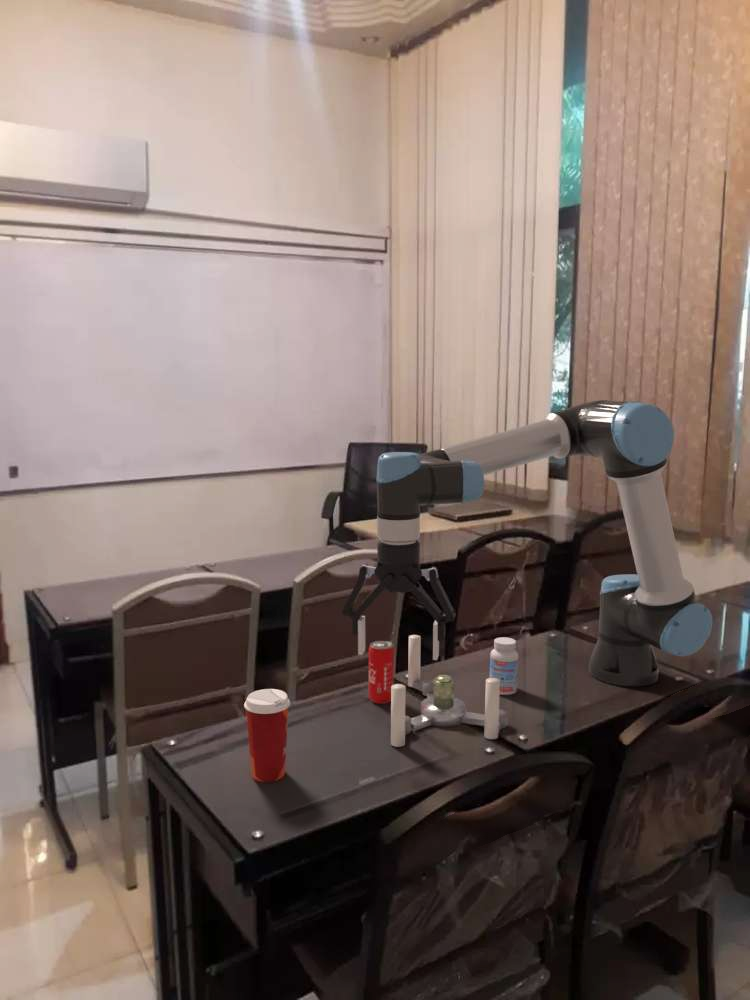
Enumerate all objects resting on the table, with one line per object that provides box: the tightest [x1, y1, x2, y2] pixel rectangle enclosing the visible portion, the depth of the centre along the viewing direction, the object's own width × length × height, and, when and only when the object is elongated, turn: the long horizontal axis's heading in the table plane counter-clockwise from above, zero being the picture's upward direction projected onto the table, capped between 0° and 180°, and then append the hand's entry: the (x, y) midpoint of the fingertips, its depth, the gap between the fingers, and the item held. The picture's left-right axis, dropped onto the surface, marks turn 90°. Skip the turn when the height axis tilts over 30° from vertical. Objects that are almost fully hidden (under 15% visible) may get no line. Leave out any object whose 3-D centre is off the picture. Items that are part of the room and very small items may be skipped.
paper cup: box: [243, 688, 291, 783], centre depth 133 cm, size 8×8×14 cm
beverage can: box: [368, 640, 395, 704], centre depth 164 cm, size 5×5×12 cm
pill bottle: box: [489, 636, 520, 696], centre depth 169 cm, size 6×6×11 cm
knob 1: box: [390, 683, 412, 748], centre depth 147 cm, size 9×4×11 cm, turn 171°
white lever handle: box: [407, 634, 434, 697], centre depth 168 cm, size 9×4×11 cm, turn 39°
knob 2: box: [483, 677, 508, 740], centre depth 150 cm, size 9×4×11 cm, turn 159°
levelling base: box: [410, 674, 485, 732], centre depth 158 cm, size 17×14×8 cm
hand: (398, 655), depth 142 cm, fingers open, 13 cm apart
